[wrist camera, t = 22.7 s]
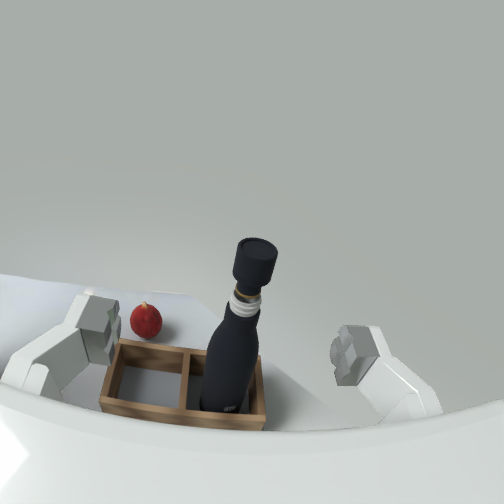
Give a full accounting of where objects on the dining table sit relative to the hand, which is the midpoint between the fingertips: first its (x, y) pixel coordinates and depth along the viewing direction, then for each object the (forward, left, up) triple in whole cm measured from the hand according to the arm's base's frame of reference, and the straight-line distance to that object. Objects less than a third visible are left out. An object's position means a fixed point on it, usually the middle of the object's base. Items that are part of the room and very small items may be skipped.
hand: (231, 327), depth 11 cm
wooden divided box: (-2, +18, -38) cm, 42 cm away
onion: (-10, +31, -38) cm, 50 cm away
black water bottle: (+4, +18, -38) cm, 42 cm away
